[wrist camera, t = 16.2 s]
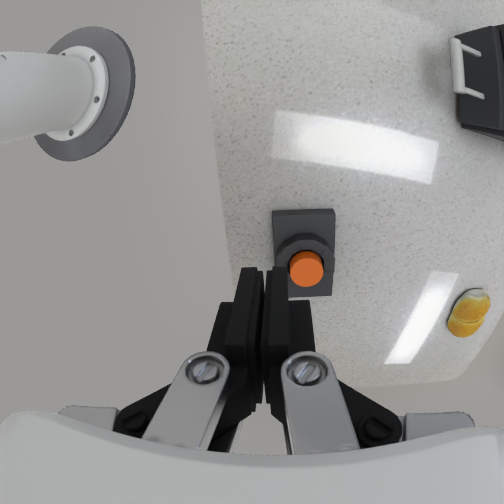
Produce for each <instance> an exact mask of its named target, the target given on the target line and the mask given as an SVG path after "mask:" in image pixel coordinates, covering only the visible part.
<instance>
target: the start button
mask: <svg viewBox="0 0 504 504" xmlns="http://www.w3.org/2000/svg"><path fill="white" fill-rule="evenodd" d="M290 276H291V279H292V280H293V282H294V283H296V284H297V285H299V286H302V287H309V286H313V285H315V284H317V283H318V282H319V281H320V280H321V278H322V276H323V266H322V262H321V259H320V258H319V256H318V255H317V254H315V253H313V252H311V251H302V252H299V253H297V254H296V255H295V256H294V257H293V258H292V259H291V262H290Z"/></svg>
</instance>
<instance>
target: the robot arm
mask: <svg viewBox="0 0 504 504" xmlns="http://www.w3.org/2000/svg"><path fill="white" fill-rule="evenodd" d="M108 87H109V75H108V69H107V65H106V62H105V61H104V59H103V57H102V56H101V55H100V54H99V53H98V51H96V50H94V49H92V48H89V47H86V46H75V47H71V48H68V49H66V50H64V51H62V52H61V53H59V54H58V55H55V54H44V53H31V52H30V53H29V52H0V145H2V144H6V143H9V142H12V141H16V140H19V139H23V138H27V137H31V136H35V135H39V134H43V133H46V134H47V135H48V136H49V137H51V138H53V139H55V140H59V141H66V140H71V139H75V138H77V137H79V136H81V135H83V134H84V133H85V132H87V131H88V130H89V129H90V128H91V127H92V126H93V125H94V123H95V122H96V120H97V119H98V117H99V116H100V113H101V111H102V109H103V107H104V104H105V101H106V98H107V93H108ZM263 384H264V385H265V395H266V403H267V404H270V405H271V414H272V415H273V416H274V417H275V418H276V419H278V420H279V421H280V422H281V423H282V429H283V434H284V441H285V449H286V455H251V454H234V449H235V447H236V444H237V441H238V438H239V435H240V432H241V429H242V424H243V419H245V418H246V417H248V416H249V415H251V412H255V410H256V409H255V408H256V403H260V404H261V403H262V396H263ZM0 504H504V429H503V428H498V427H488V426H479V427H475V424H474V421H473V419H472V418H471V417H470V415H468V414H466V413H464V412H444V413H406V415H405V416H396V415H395V414H394V413H393V412H391V411H390V410H388V409H386V408H384V407H383V406H381V405H379V404H377V403H376V402H374V401H372V400H371V399H369V398H367V397H366V396H364V395H362V394H361V393H359V392H357V391H355V390H354V389H352V388H351V387H349V386H347V385H346V384H344V383H343V382H341V381H339V380H338V379H337V377H336V374H335V371H334V368H333V365H332V364H331V362H330V360H329V359H328V358H326V357H325V356H324V355H322V354H320V353H317V352H316V351H315V342H314V333H313V324H312V316H311V308H310V301H309V300H294V301H288V273H287V266H273V268H272V270H269V271H267V276H266V287H265V291H264V279H263V271H257V267H245V268H242V269H241V273H240V277H239V281H238V285H237V290H236V294H235V298H234V302H222V303H221V304H220V306H219V310H218V313H217V316H216V320H215V323H214V326H213V330H212V333H211V337H210V340H209V344H208V347H207V351H206V352H199V353H196V354H194V355H192V356H190V357H189V358H188V359H187V360H185V361H184V363H183V364H182V366H181V367H180V369H179V371H178V373H177V375H176V377H175V378H174V380H173V382H172V383H171V384H169V385H167V386H166V387H163V388H162V389H160V390H158V391H156V392H154V393H152V394H150V395H148V396H146V397H144V398H143V399H141V400H139V401H137V402H135V403H133V404H131V405H129V406H127V407H125V408H124V409H122V410H121V411H120V410H118V409H117V408H111V407H88V406H74V405H73V406H67V407H65V408H63V409H62V410H61V411H60V412H59V413H58V414H55V413H51V412H45V411H22V412H17V413H13V414H11V415H10V416H8V417H7V418H6V419H5V420H4V421H3V423H2V424H1V425H0Z"/></svg>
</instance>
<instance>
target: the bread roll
mask: <svg viewBox="0 0 504 504" xmlns="http://www.w3.org/2000/svg"><path fill="white" fill-rule="evenodd" d="M489 307H490V298H489V296H488V294H487V293H486V292H485V291H484V290H483V289H472V290H469V291H467V292H466V293H464V294H463V295H462V296H461V297H460V298H459V299H458V301H457V302H456V304H455V306H454V308H453V311H452V314H451V315H450V317H449V320H448V324H447V325H448V328H449V330H450V332H451V333H452V334H453V335H455V336H457V337H468V336H470V335H472V334H473V333H475V332H476V331H477V330H478V328H479V327H480V326H481V325H482V323H483V321H484V318H485V314H486V313H487V312H488V310H489Z"/></svg>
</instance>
